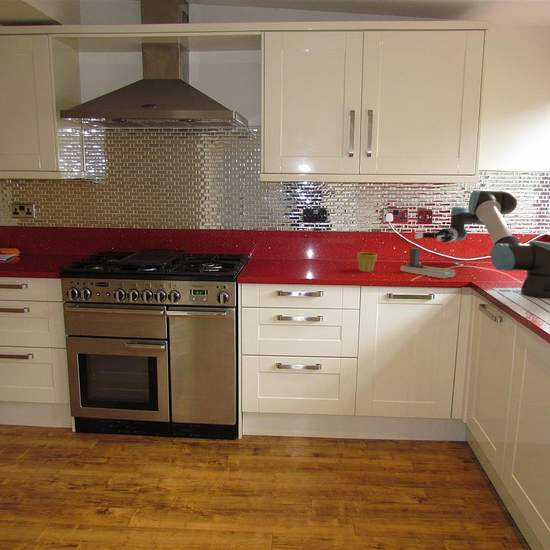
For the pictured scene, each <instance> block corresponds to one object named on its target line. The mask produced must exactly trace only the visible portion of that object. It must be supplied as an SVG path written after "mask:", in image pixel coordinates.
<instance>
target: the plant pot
mask: <svg viewBox="0 0 550 550" xmlns="http://www.w3.org/2000/svg"><path fill="white" fill-rule="evenodd" d="M377 258H378V254H377V253H374V252H369V251H361V252H357V253H356V260H357V263H358V268H359V269H358V271H360V272H364V273H365V272H366V273H368V272H370V273H371V272H373V270H374V266H375V263H376V261H378V260H377Z"/></svg>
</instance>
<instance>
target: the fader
mask: <svg viewBox="0 0 550 550" xmlns="http://www.w3.org/2000/svg"><path fill="white" fill-rule="evenodd" d="M409 248H410V249H409V262H408V263H409V264H405V266H407V267H414V268H423V266H424V265H422V264H420V258H421V248H419V247H409Z"/></svg>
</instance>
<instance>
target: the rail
mask: <svg viewBox="0 0 550 550" xmlns="http://www.w3.org/2000/svg"><path fill="white" fill-rule="evenodd" d="M399 269H400V271H401V272H406V273H410V274H411V273H412V274H416V275H420V274H421V275H422V276H425V275H427V276H426V277H431V276H432V277H431V278H438V279H449V277H450V278H454V276H455V277H456V269H448V268H441V267H433V266H427V265H423V268H414V267H407V266H406V265H400V268H399Z"/></svg>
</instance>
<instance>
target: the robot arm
mask: <svg viewBox="0 0 550 550" xmlns="http://www.w3.org/2000/svg"><path fill="white" fill-rule="evenodd" d="M517 205H518V199H517V197H516V196H515V195H514V194H513V193H512V192H511V191H509V190H504V189H499V190H498V189H474V190H473V191H472V192H471V193H470V195H469V200H468V205H467V207H468V209H467V208H466V206H453V207H452V208H451V214H450V227H447V228H442V229H440V230H439V231H437V232H436V231H435V232H433V231H432V232H418V233H414V239H415V240H416V239H420V240H422V239H425V238H427V239H428V238H430V239H431V238H432V239H433V240H435V239H436V242H443V243H448V242H449V243H451V242H458V241H462V240H465V239H466V238H467V236H468V232H467V229H466V228H465V224H478V225H479V224H482V225H484V226H485V228H486V230H487V233H488V235H489V237H490V239H491V242H492V243H493V245H492V247H491V249H490V255H489V256H490V260H491V263H492V265H493V267H494V268H495V269H496V270H499V271H505V272H506V271H507V272H508V271H509V272H510V271H511V272H513V271H520V272H521V271H522V272H523V271H526V277H525V279H524V281H523V283H522V285H521V287H520V288H521V290H520V293H521V294H523V295H526V296H530V297H537V298H550V242H545V241H540V240H539V241H538V240H530V241H529V242H528V243H522V242H521V240H520V239H519V237H517V236H514V235H513V234H512V232H511V230H510V228H509V227H508V225H507V222H506V220H505V218H504V217H503V216H505V215H508V214H510V213H513V211H515V210H516V208H517V207H518V206H517Z"/></svg>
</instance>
